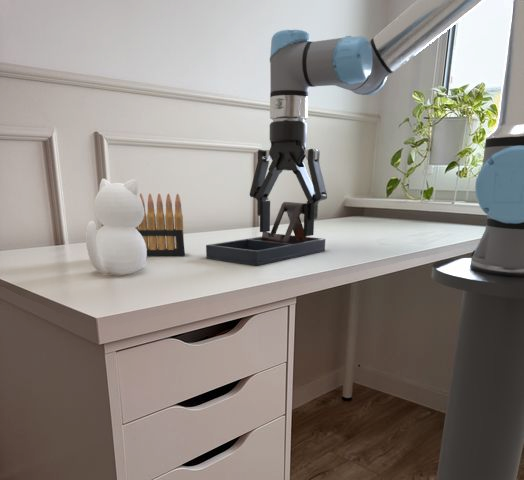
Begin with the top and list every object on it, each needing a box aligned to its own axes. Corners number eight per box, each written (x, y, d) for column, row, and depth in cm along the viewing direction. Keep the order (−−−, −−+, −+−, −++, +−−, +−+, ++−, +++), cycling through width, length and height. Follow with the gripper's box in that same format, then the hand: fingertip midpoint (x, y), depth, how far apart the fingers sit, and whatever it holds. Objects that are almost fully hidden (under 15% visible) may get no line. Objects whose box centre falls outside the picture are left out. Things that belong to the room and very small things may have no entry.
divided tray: (324, 250, 113) (325, 238, 112) (256, 265, 95) (256, 251, 94) (278, 245, 120) (278, 233, 119) (206, 258, 102) (205, 244, 101)
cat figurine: (160, 268, 91) (156, 178, 86) (118, 282, 80) (109, 180, 75) (117, 265, 94) (110, 178, 89) (70, 277, 82) (59, 179, 78)
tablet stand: (261, 241, 113) (261, 202, 111) (293, 240, 117) (293, 201, 114) (279, 246, 106) (280, 203, 103) (313, 244, 109) (314, 203, 106)
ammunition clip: (130, 256, 103) (126, 193, 99) (131, 254, 105) (127, 193, 101) (184, 255, 104) (182, 193, 100) (184, 254, 106) (182, 193, 102)
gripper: (232, 122, 107) (233, 231, 114) (329, 116, 94) (323, 239, 101) (254, 125, 113) (254, 228, 120) (348, 119, 100) (342, 236, 107)
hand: (286, 233), depth 111 cm, fingers closed on tablet stand, 11 cm apart
